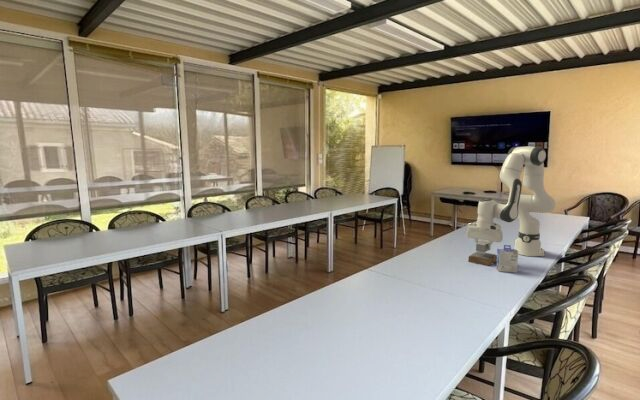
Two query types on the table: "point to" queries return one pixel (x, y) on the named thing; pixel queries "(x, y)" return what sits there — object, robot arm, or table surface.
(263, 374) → the table surface
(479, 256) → the wooden tray
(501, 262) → the ink cartridge box
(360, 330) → the table surface
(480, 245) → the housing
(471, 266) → the table surface
